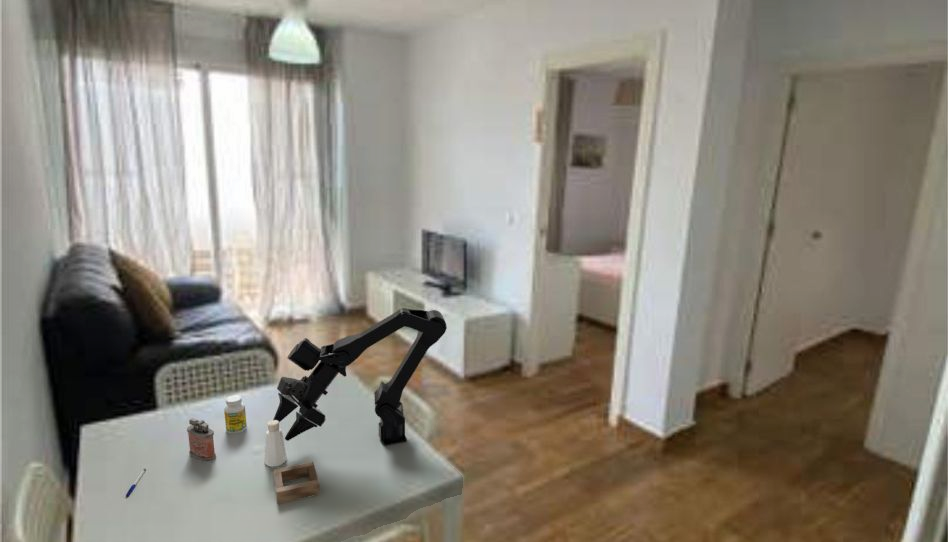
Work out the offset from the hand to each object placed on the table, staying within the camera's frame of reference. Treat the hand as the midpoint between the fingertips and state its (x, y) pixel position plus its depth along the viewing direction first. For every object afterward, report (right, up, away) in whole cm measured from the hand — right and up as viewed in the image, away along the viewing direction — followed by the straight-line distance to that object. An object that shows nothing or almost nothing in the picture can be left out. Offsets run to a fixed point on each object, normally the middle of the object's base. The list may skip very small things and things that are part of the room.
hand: (279, 431), depth 134 cm
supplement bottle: (-18, -4, +15) cm, 24 cm away
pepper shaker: (-1, -8, +1) cm, 8 cm away
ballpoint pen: (-31, -10, -9) cm, 34 cm away
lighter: (-21, -7, +2) cm, 22 cm away
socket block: (+7, -10, -9) cm, 16 cm away
